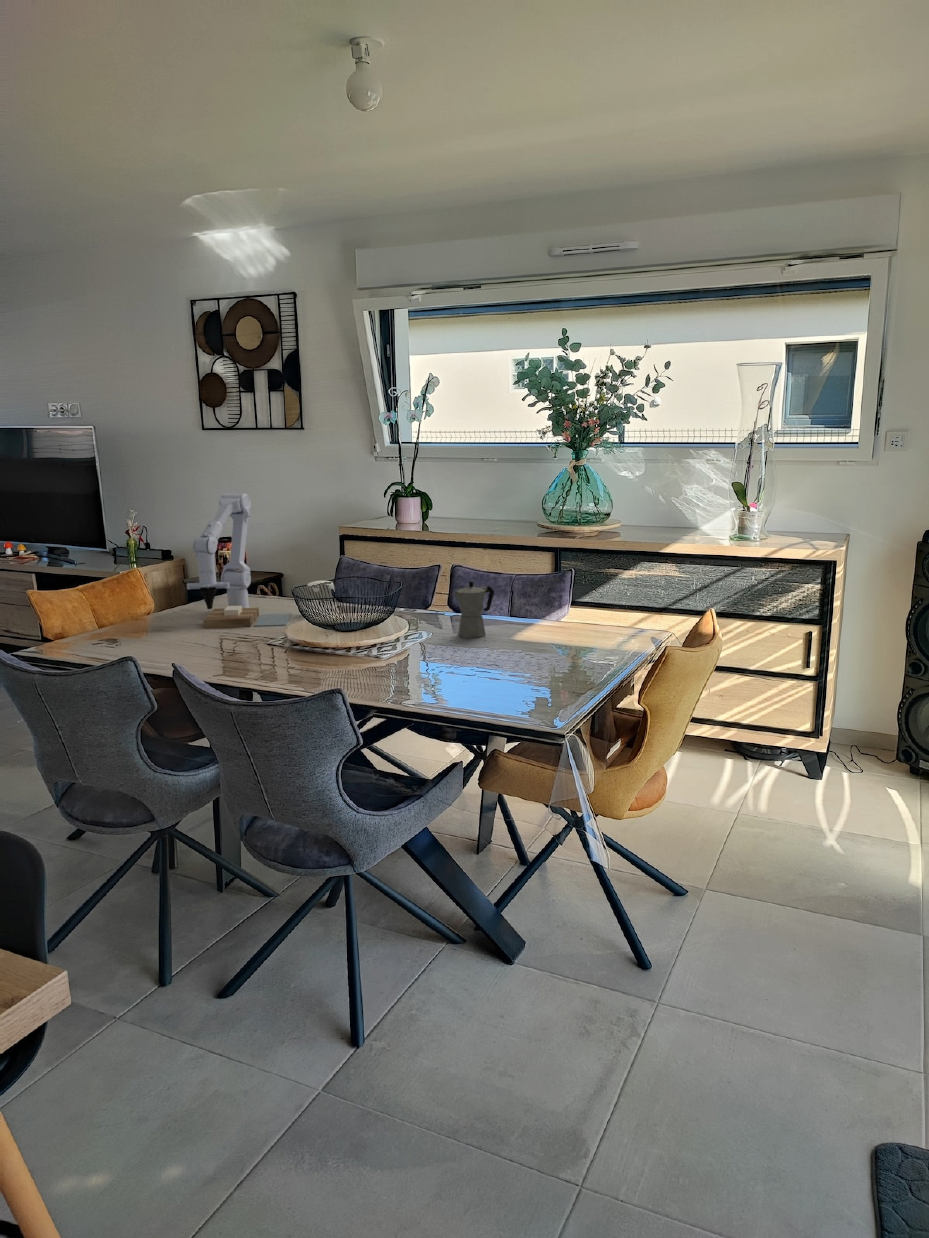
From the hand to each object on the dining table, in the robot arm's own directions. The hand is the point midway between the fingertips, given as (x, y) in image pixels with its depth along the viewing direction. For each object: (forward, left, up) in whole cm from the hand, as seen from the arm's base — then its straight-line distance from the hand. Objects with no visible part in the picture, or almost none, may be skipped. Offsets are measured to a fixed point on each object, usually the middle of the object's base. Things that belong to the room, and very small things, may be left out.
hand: (210, 608), depth 313 cm
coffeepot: (+30, +93, -5) cm, 97 cm away
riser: (0, +8, -5) cm, 9 cm away
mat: (0, +22, -5) cm, 23 cm away
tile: (0, +8, -2) cm, 8 cm away
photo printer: (-9, +39, -5) cm, 40 cm away
